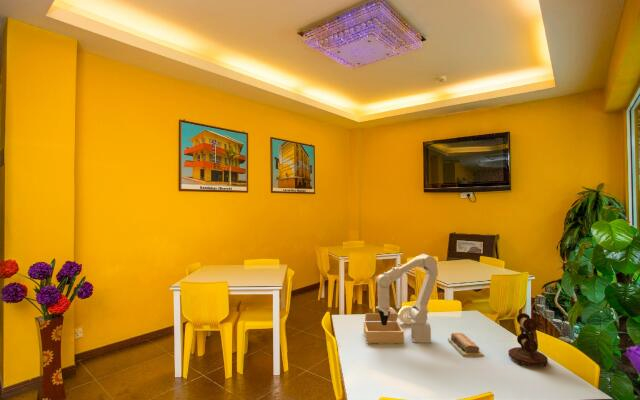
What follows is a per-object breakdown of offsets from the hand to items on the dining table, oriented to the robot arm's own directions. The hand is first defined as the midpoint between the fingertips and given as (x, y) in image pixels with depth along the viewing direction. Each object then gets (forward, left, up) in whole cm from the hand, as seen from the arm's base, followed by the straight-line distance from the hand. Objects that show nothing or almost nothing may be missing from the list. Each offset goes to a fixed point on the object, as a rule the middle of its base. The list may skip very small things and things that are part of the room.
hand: (384, 324), depth 169 cm
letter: (-12, -24, -9) cm, 29 cm away
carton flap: (0, -9, +1) cm, 9 cm away
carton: (0, -4, -8) cm, 9 cm away
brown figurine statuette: (-60, +21, -9) cm, 64 cm away
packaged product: (-38, +8, -9) cm, 39 cm away
